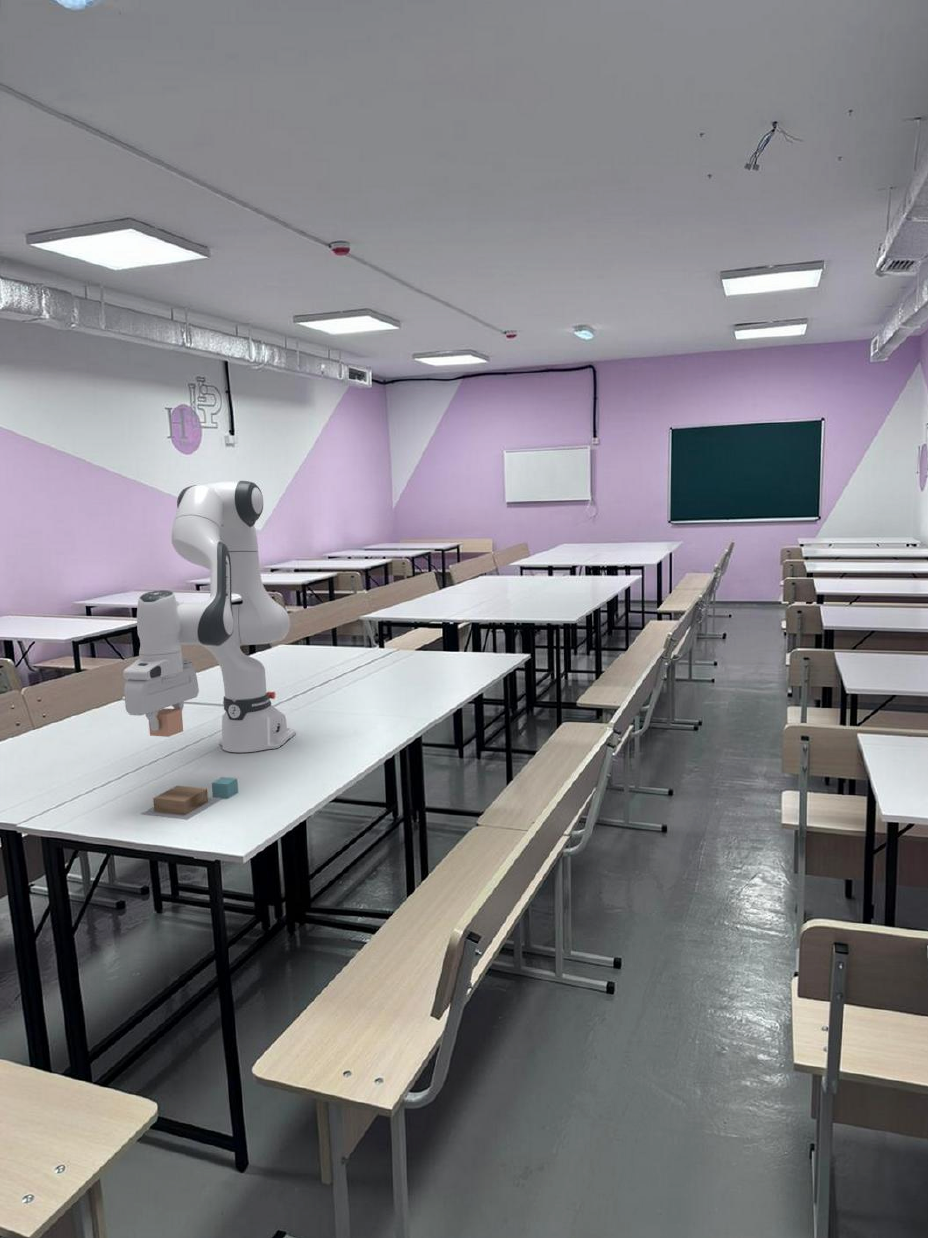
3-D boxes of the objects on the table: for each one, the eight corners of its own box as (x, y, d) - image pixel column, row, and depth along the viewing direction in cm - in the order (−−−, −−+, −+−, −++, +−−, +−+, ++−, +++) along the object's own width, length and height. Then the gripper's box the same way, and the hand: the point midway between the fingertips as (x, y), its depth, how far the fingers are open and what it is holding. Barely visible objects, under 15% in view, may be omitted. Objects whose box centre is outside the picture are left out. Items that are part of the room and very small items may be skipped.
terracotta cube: (165, 730, 190) (163, 708, 190) (183, 731, 189) (181, 709, 188) (149, 735, 186) (148, 713, 185) (168, 736, 184) (166, 714, 183)
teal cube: (223, 793, 193) (222, 777, 192) (238, 795, 191) (237, 778, 191) (212, 800, 189) (211, 782, 188) (228, 801, 188) (226, 784, 187)
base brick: (178, 798, 188) (177, 785, 188) (208, 801, 186) (207, 788, 185) (154, 811, 181) (153, 798, 180) (185, 815, 178) (184, 801, 178)
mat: (176, 797, 191) (176, 794, 191) (221, 802, 187) (221, 799, 187) (140, 816, 180) (140, 814, 180) (187, 822, 176) (187, 819, 176)
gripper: (180, 656, 196) (184, 714, 198) (117, 672, 177) (122, 736, 179) (203, 657, 194) (207, 716, 195) (141, 673, 175) (146, 738, 176)
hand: (166, 726), depth 187 cm, fingers closed on terracotta cube, 5 cm apart
